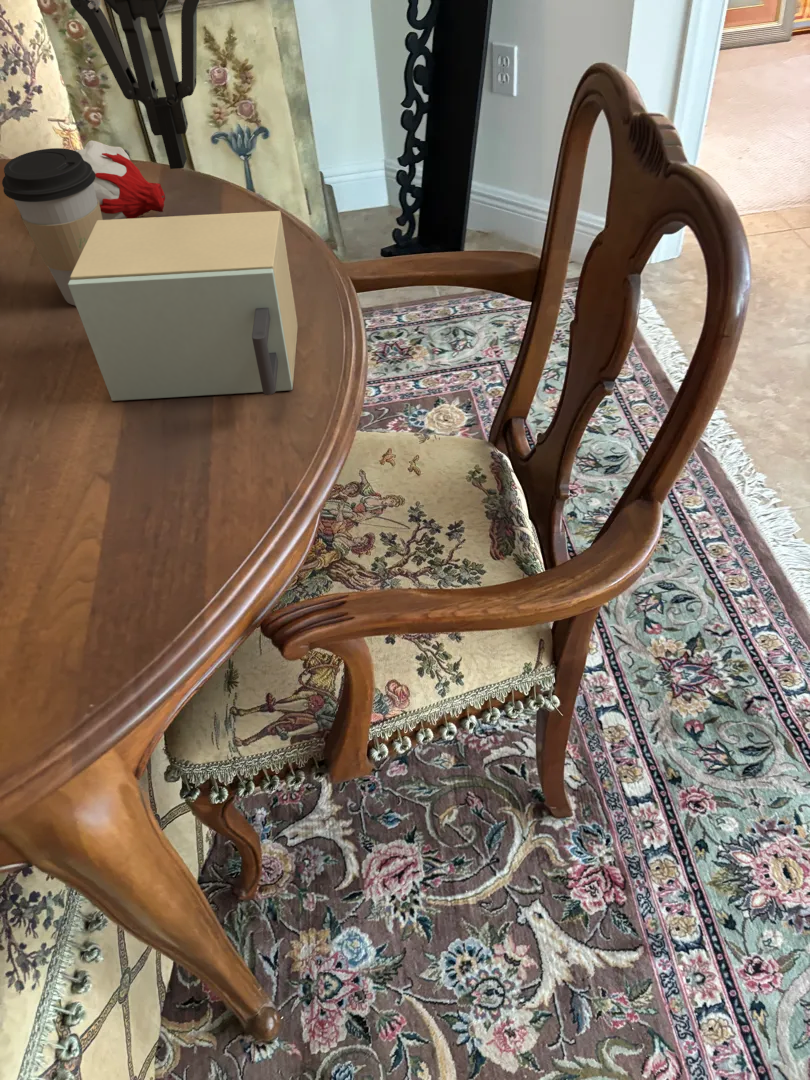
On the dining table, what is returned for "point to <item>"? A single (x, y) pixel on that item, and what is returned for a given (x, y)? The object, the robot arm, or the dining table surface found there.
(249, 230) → the cupboard
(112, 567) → the dining table surface
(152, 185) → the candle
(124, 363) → the cupboard door
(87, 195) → the coffee cup
